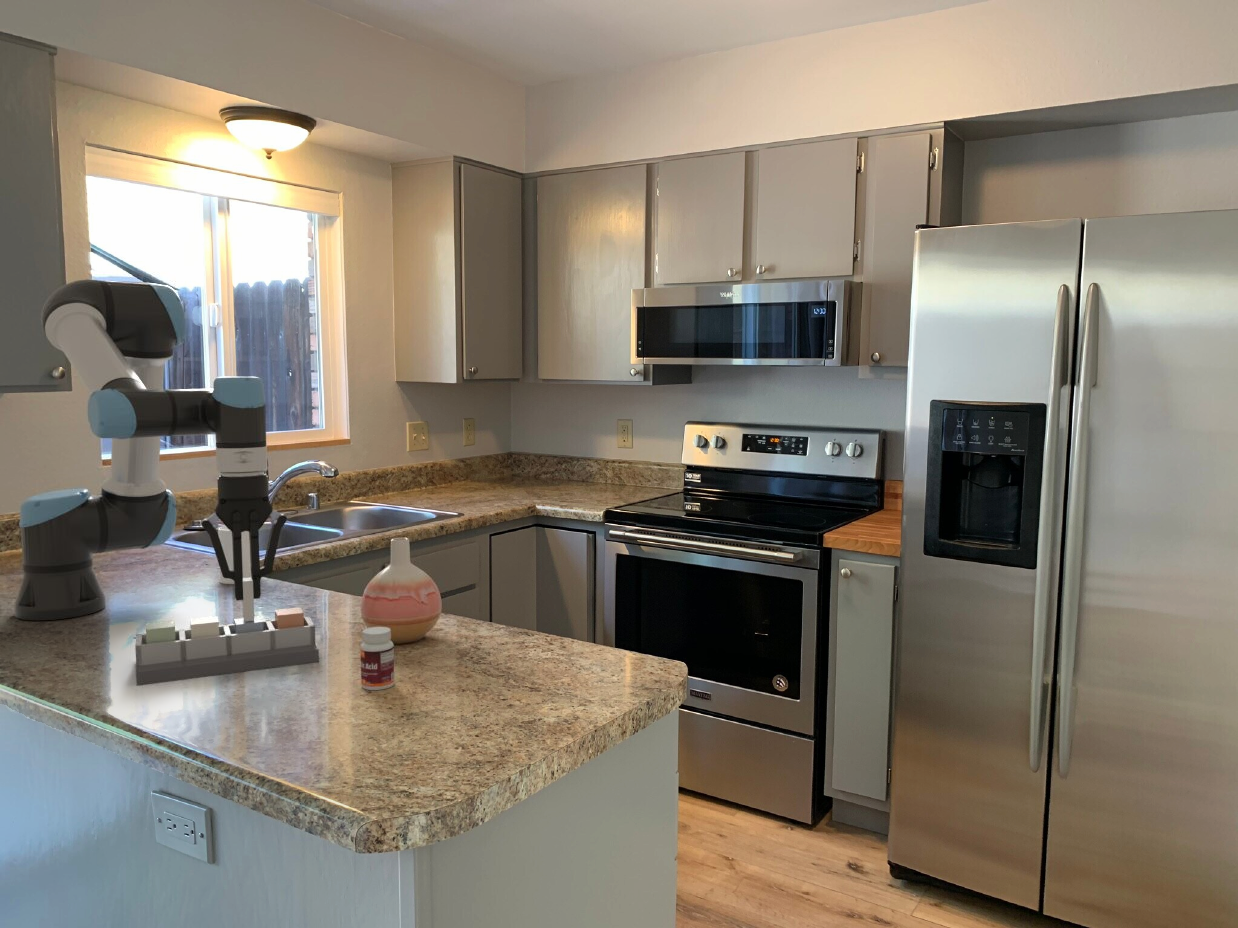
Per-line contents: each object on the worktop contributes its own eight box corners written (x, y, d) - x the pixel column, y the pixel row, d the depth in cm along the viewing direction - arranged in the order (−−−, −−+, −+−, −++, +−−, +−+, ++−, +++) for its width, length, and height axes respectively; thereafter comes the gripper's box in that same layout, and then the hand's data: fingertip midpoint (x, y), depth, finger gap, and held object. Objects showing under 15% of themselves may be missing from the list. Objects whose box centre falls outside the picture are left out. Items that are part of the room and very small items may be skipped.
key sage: (146, 648, 143) (145, 629, 143) (147, 642, 147) (146, 623, 146) (175, 645, 145) (174, 626, 145) (175, 638, 149) (174, 620, 148)
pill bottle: (354, 687, 137) (352, 631, 137) (378, 678, 141) (376, 624, 141) (377, 693, 135) (376, 636, 134) (401, 683, 139) (400, 628, 138)
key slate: (236, 643, 149) (236, 624, 149) (234, 636, 152) (234, 618, 152) (263, 640, 151) (262, 621, 150) (261, 633, 154) (260, 616, 154)
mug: (253, 586, 204) (251, 532, 202) (212, 588, 202) (209, 533, 201) (263, 575, 215) (261, 523, 214) (223, 577, 213) (221, 525, 212)
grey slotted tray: (136, 685, 138) (134, 652, 138) (138, 659, 151) (136, 629, 150) (319, 661, 150) (318, 630, 149) (306, 639, 162) (305, 611, 162)
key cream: (191, 643, 146) (190, 624, 146) (190, 637, 150) (190, 618, 149) (219, 640, 148) (218, 621, 147) (218, 634, 151) (217, 615, 151)
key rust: (278, 633, 152) (277, 615, 151) (275, 627, 155) (274, 609, 155) (304, 630, 153) (303, 612, 153) (300, 624, 157) (300, 607, 157)
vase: (414, 653, 154) (412, 548, 152) (345, 645, 159) (342, 543, 157) (456, 632, 167) (455, 534, 165) (391, 625, 171) (389, 530, 170)
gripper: (198, 477, 143) (205, 629, 145) (288, 473, 149) (294, 619, 151) (196, 473, 149) (203, 618, 152) (283, 469, 155) (288, 609, 157)
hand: (248, 618), depth 151 cm, fingers closed
